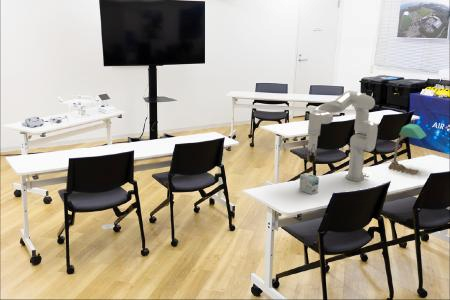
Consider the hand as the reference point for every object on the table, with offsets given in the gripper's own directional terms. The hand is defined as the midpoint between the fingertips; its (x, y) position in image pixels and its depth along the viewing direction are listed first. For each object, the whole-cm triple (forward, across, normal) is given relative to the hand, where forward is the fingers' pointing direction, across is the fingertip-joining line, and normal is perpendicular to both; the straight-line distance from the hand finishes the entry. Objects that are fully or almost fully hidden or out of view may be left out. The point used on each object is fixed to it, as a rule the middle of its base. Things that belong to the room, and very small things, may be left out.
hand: (311, 159), depth 286 cm
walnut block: (+1, 0, 0) cm, 1 cm away
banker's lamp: (+21, -57, +74) cm, 96 cm away
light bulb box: (+22, 0, 0) cm, 22 cm away
